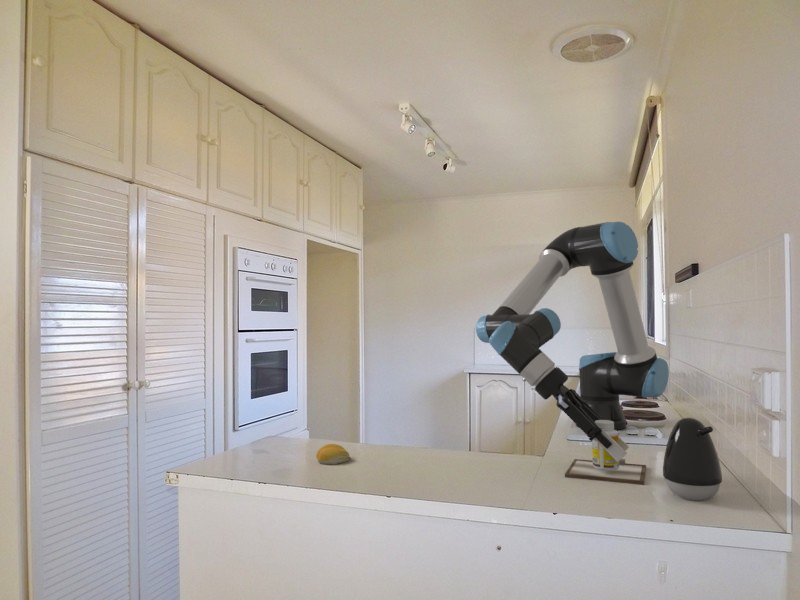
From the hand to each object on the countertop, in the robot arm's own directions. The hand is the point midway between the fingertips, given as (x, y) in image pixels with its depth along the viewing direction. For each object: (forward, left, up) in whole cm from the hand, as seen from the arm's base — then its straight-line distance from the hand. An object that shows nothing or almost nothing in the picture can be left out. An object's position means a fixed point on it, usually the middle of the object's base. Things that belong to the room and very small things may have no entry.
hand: (623, 454), depth 123 cm
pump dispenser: (+9, +13, -5) cm, 16 cm away
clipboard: (-3, -4, -5) cm, 7 cm away
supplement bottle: (0, -4, -4) cm, 5 cm away
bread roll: (+9, -69, -6) cm, 70 cm away
